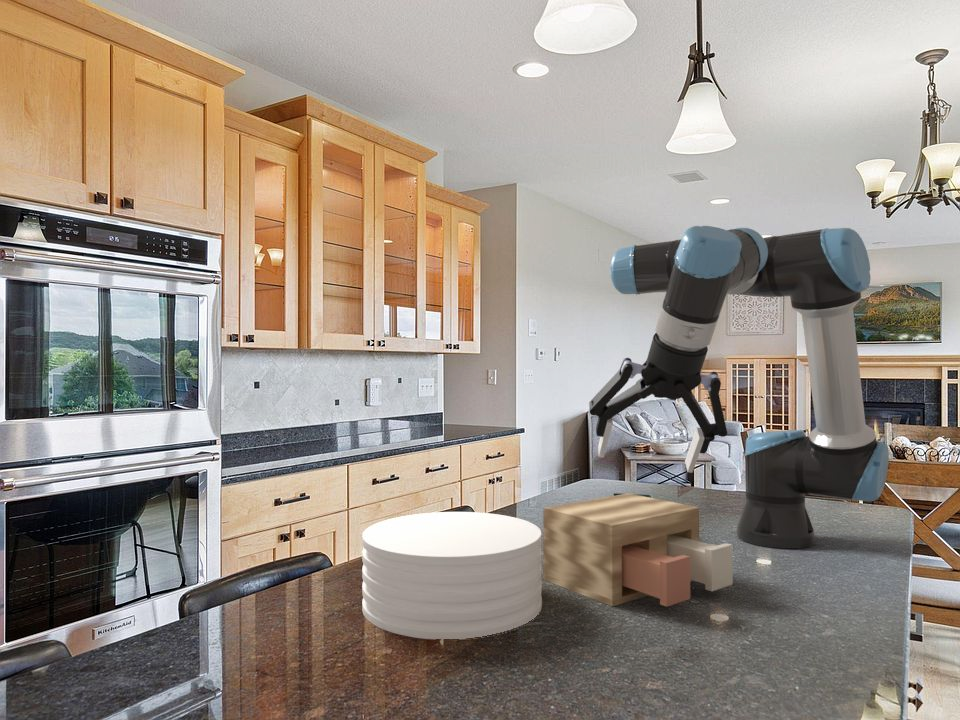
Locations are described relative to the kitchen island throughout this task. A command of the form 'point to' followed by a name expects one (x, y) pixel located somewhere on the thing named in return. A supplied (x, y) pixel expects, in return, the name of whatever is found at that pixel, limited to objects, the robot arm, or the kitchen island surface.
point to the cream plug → (704, 561)
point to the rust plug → (656, 574)
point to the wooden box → (608, 541)
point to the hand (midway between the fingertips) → (644, 459)
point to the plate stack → (451, 574)
